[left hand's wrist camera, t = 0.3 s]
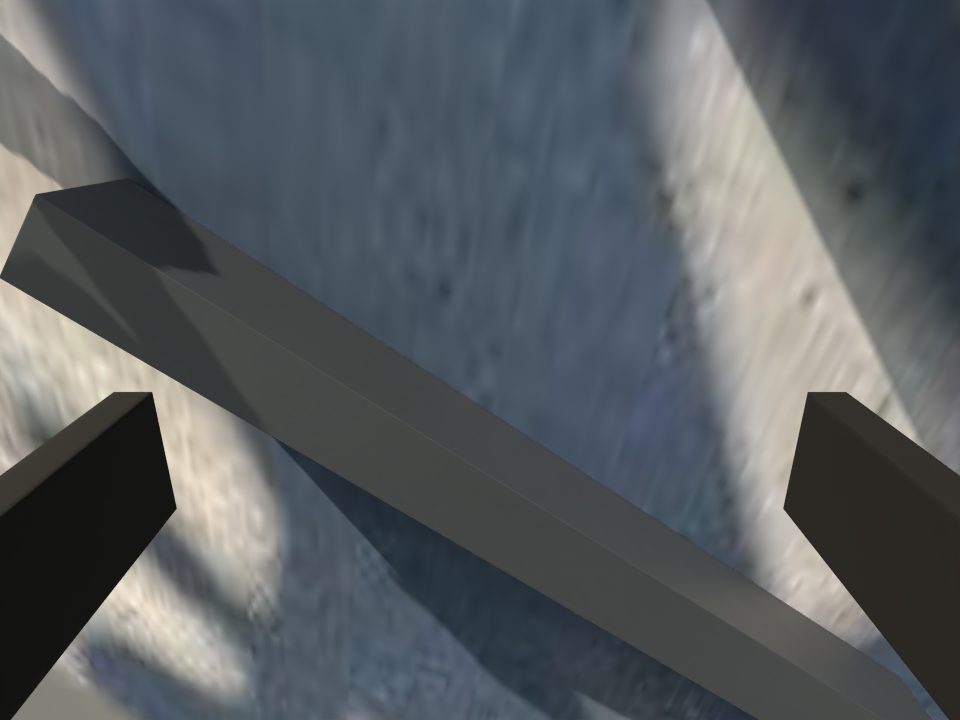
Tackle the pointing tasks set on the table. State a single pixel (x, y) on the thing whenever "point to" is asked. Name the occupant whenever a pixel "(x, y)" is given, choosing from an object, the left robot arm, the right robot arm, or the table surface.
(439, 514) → the beam
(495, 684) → the table surface
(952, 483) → the left robot arm
